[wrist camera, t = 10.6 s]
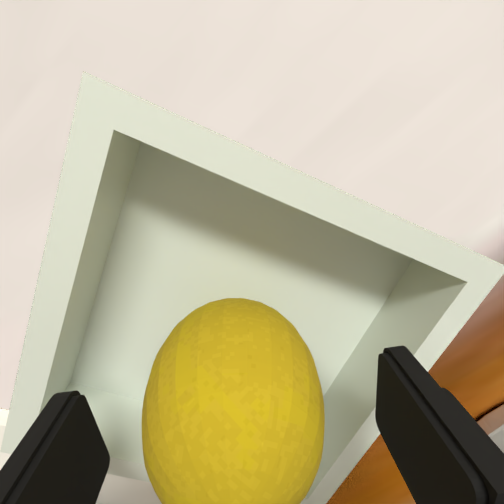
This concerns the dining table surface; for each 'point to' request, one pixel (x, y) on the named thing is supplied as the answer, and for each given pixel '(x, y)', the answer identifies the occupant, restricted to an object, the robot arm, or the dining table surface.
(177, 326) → the lemon
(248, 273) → the tray
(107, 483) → the crank board
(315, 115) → the dining table surface
